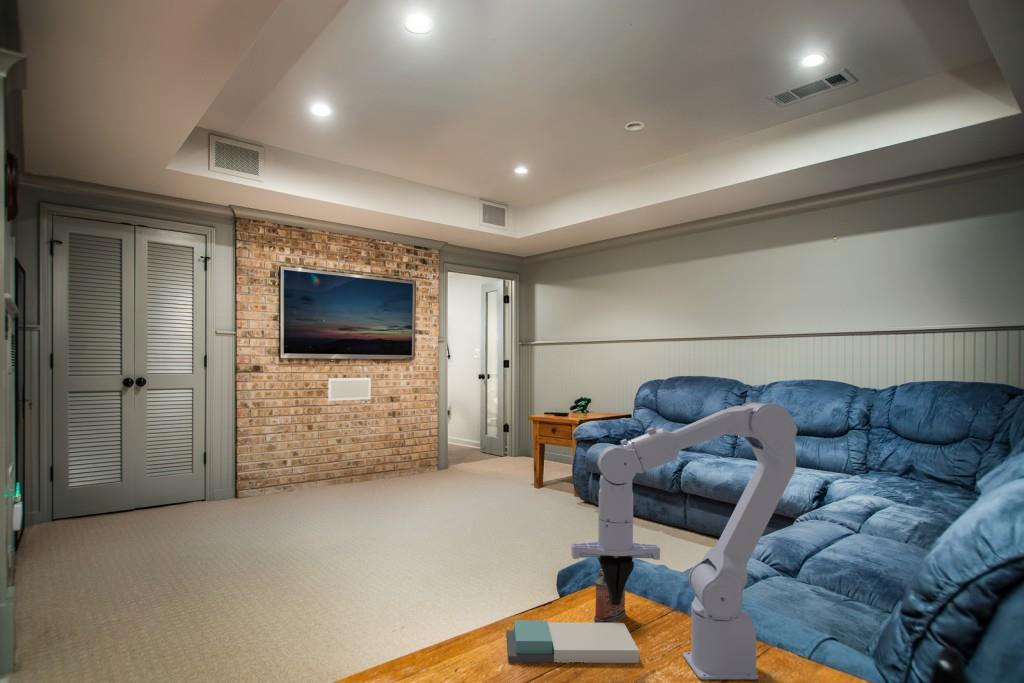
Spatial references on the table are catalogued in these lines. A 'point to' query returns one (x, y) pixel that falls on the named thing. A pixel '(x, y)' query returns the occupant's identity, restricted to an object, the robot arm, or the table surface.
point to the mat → (524, 657)
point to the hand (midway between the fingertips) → (614, 602)
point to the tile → (532, 637)
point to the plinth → (592, 643)
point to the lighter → (607, 603)
